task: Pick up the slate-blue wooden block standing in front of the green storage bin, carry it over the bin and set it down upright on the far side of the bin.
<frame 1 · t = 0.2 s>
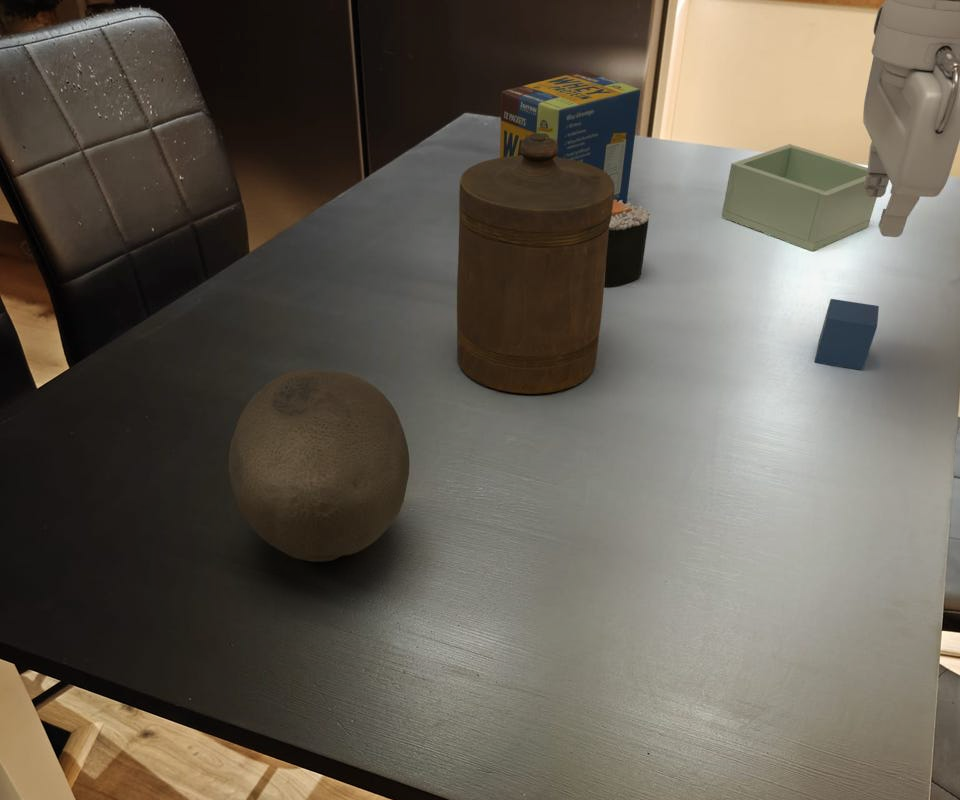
hand: (880, 213, 84), 18 cm above the table, tool pointing down, fingers open, 8 cm apart
wooden container: (526, 361, 100), on the table
protein box: (562, 216, 129), on the table
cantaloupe: (331, 550, 77), on the table
block: (839, 355, 101), on the table
green storage bin: (794, 222, 128), on the table
sushi: (606, 273, 116), on the table
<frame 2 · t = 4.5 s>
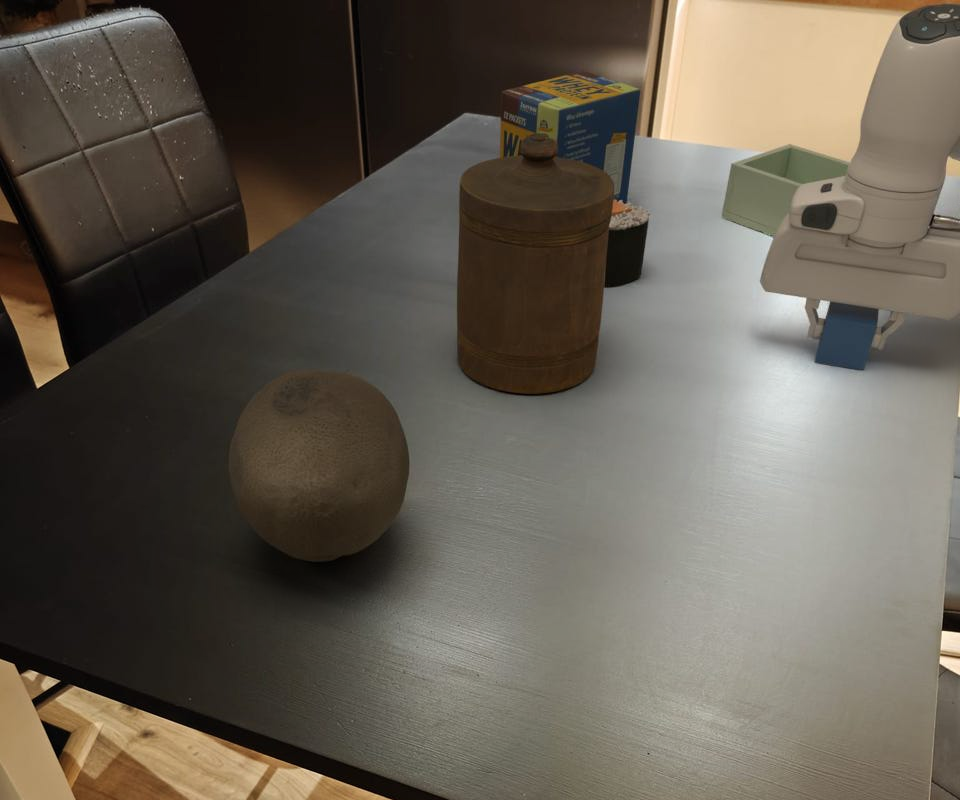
hand: (844, 341, 100), 2 cm above the table, tool pointing down, fingers closed on block, 5 cm apart
block: (840, 356, 101), on the table, touching gripper
everything else where it was.
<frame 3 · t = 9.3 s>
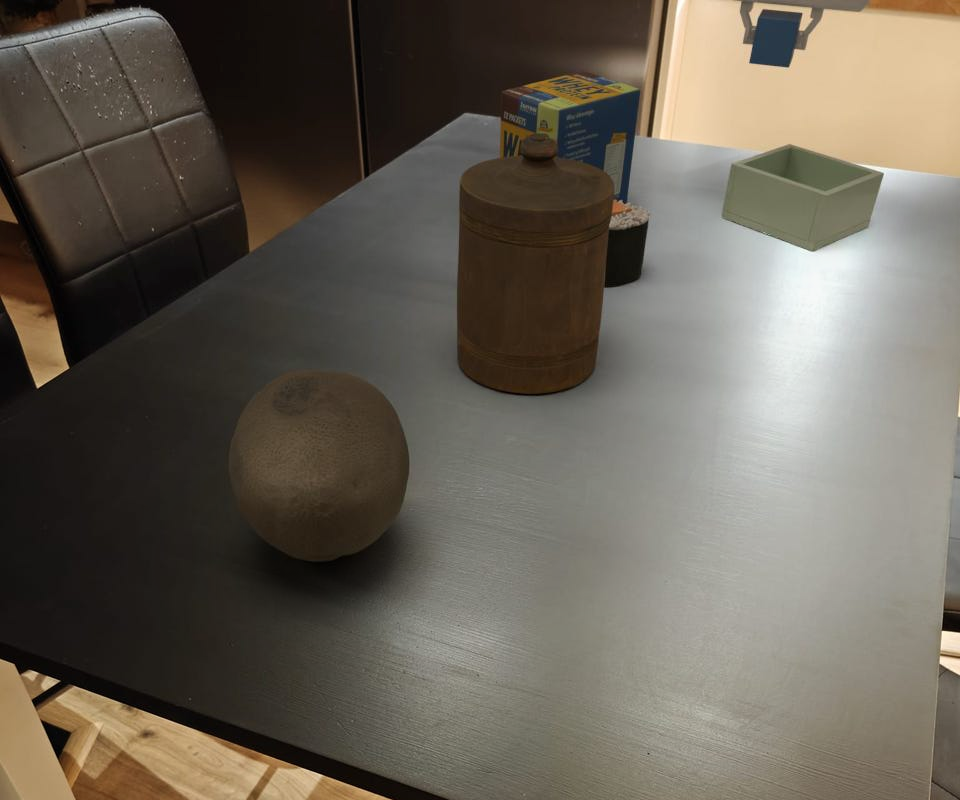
hand: (773, 46, 119), 20 cm above the table, tool pointing down, fingers closed on block, 5 cm apart
block: (770, 60, 120), point 18 cm above the table, touching gripper
everything else where it was.
when the fingers open (1 cm above the table, at t = 14.4 s): block stays where it is, on the table.
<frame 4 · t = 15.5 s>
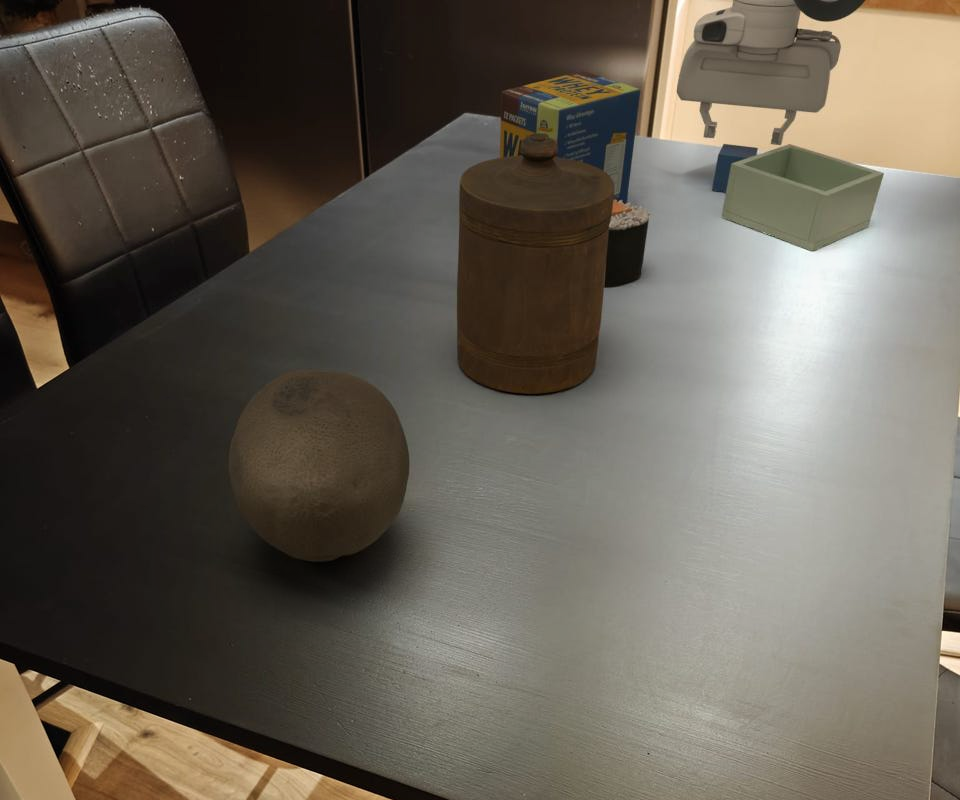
hand: (742, 140, 133), 7 cm above the table, tool pointing down, fingers open, 8 cm apart
block: (731, 187, 138), on the table
everything else where it was.
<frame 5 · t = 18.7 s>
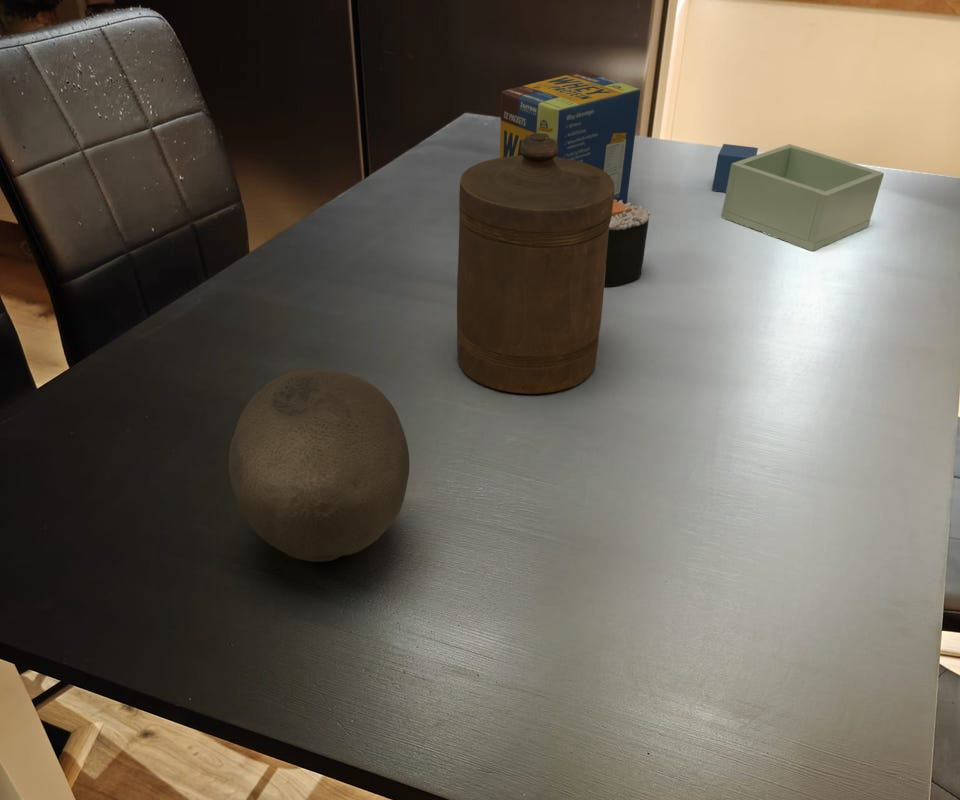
nothing on the table moved.
at the end: block inside the target area on the table beside the green storage bin (1.7 cm from its centre), on the table; block tilted 0°; the gripper is holding nothing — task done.
